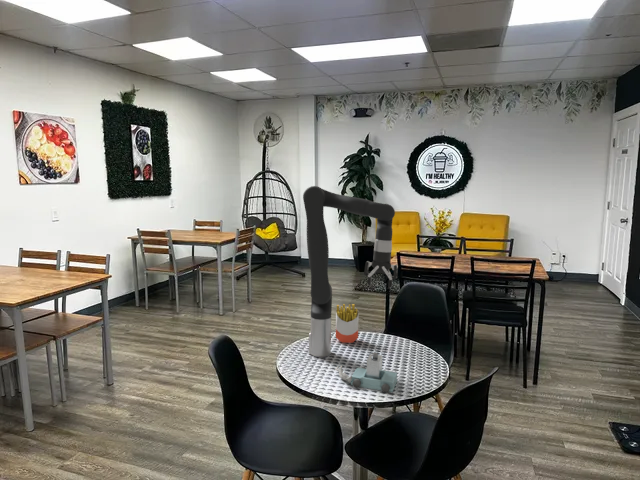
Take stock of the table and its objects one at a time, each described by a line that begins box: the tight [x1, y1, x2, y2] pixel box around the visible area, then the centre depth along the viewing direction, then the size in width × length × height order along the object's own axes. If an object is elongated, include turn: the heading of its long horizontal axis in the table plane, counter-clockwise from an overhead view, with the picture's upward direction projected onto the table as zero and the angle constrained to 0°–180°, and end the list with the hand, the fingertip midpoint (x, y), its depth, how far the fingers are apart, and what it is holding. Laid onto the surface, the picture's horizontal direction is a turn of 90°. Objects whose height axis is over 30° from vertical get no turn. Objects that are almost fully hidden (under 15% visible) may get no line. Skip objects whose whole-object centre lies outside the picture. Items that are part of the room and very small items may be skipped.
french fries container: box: [335, 303, 360, 344], centre depth 211 cm, size 5×11×18 cm, turn 88°
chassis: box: [350, 366, 398, 394], centre depth 168 cm, size 16×12×4 cm
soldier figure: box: [335, 365, 352, 384], centre depth 170 cm, size 8×5×12 cm
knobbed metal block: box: [366, 352, 383, 380], centre depth 167 cm, size 5×6×11 cm
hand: (379, 286), depth 189 cm, fingers open, 8 cm apart
